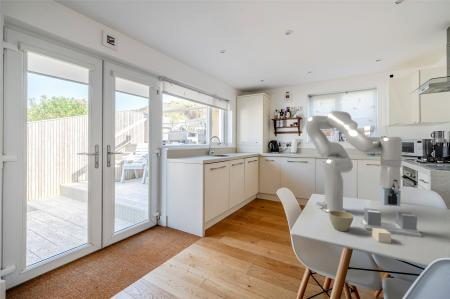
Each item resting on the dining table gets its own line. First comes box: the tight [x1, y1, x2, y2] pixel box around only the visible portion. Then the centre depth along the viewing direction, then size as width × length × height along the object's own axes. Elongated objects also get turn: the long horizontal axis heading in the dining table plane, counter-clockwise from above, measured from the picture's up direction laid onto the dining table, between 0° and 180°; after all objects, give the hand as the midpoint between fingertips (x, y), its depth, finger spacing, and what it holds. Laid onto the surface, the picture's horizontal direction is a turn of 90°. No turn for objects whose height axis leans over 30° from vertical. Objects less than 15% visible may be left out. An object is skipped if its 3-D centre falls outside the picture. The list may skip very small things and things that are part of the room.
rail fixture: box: [360, 207, 422, 238], centre depth 94 cm, size 20×9×8 cm, turn 70°
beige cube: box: [371, 228, 392, 244], centre depth 84 cm, size 4×4×4 cm
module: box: [379, 187, 402, 207], centre depth 93 cm, size 6×4×7 cm
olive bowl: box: [328, 211, 354, 232], centre depth 95 cm, size 10×10×7 cm
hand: (389, 202), depth 93 cm, fingers closed on module, 4 cm apart
